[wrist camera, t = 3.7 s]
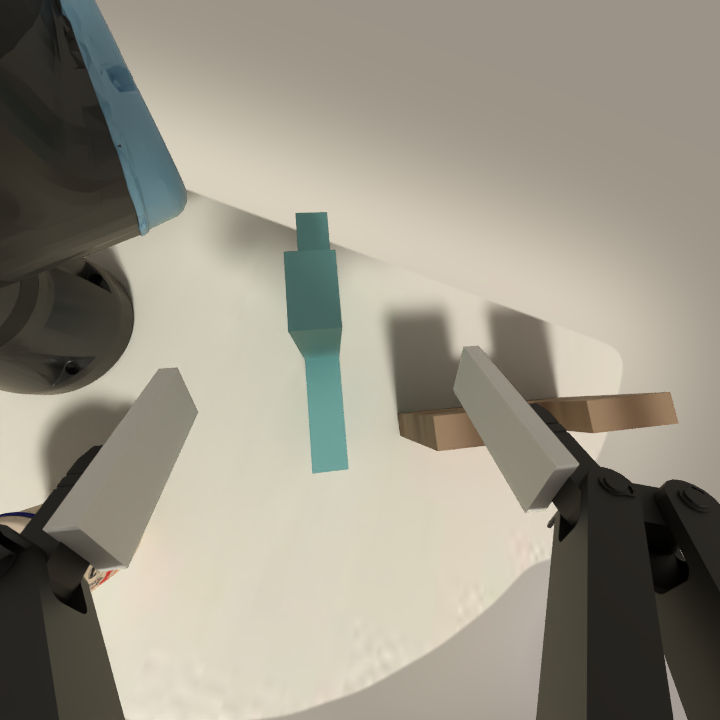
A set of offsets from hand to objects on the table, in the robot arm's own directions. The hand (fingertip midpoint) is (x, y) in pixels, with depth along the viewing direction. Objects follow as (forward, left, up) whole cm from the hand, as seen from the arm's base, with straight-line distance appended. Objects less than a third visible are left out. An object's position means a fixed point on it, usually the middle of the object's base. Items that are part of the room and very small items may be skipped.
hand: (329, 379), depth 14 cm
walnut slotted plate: (+18, -1, -19) cm, 26 cm away
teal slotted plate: (-1, +4, -19) cm, 20 cm away
